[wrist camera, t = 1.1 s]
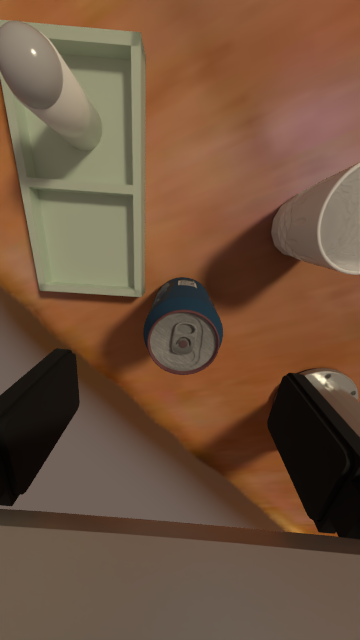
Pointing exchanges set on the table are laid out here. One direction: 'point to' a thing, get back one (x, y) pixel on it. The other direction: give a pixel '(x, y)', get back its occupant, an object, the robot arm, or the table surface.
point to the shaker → (47, 85)
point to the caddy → (87, 170)
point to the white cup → (323, 223)
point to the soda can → (183, 328)
